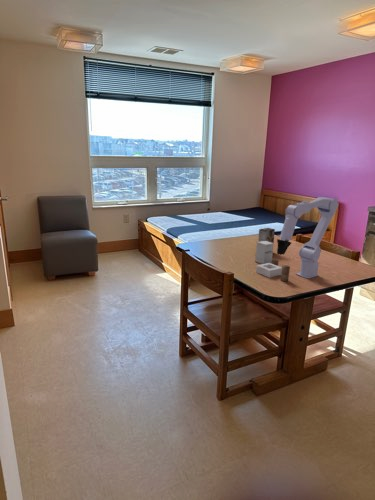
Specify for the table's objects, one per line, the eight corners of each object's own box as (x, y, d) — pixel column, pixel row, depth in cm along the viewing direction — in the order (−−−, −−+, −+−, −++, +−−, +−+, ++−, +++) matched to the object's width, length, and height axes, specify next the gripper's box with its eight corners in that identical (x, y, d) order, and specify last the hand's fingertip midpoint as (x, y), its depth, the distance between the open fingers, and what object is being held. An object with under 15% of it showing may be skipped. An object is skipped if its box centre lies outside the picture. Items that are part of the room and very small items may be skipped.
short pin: (274, 265, 207) (274, 259, 206) (279, 267, 204) (280, 261, 203) (269, 266, 205) (270, 260, 204) (274, 268, 202) (275, 262, 201)
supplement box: (263, 264, 208) (265, 244, 205) (254, 261, 214) (256, 241, 210) (271, 263, 212) (274, 243, 209) (263, 259, 218) (265, 240, 214)
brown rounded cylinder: (283, 278, 186) (285, 264, 184) (289, 280, 183) (291, 266, 181) (278, 279, 184) (280, 265, 182) (284, 282, 181) (286, 267, 179)
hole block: (268, 269, 201) (269, 262, 199) (281, 274, 193) (282, 267, 191) (256, 272, 195) (256, 265, 194) (269, 277, 187) (269, 270, 186)
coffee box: (265, 250, 239) (267, 227, 235) (272, 252, 235) (275, 229, 230) (256, 252, 234) (259, 229, 229) (264, 254, 229) (266, 230, 224)
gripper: (283, 227, 183) (275, 251, 185) (278, 225, 170) (270, 252, 171) (296, 230, 180) (288, 255, 182) (292, 229, 167) (284, 256, 169)
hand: (280, 254), depth 176 cm, fingers open, 7 cm apart
